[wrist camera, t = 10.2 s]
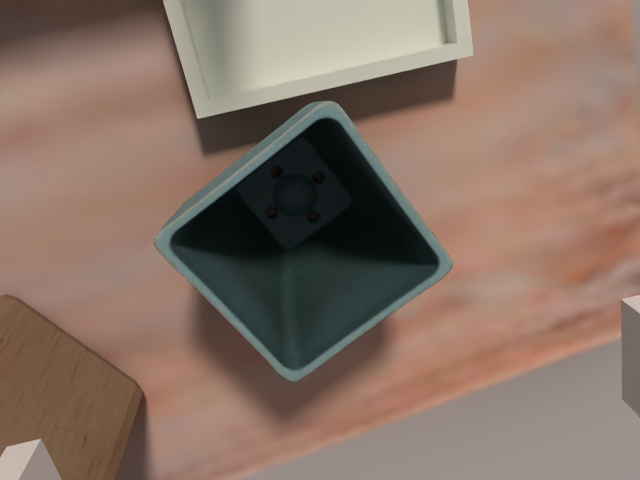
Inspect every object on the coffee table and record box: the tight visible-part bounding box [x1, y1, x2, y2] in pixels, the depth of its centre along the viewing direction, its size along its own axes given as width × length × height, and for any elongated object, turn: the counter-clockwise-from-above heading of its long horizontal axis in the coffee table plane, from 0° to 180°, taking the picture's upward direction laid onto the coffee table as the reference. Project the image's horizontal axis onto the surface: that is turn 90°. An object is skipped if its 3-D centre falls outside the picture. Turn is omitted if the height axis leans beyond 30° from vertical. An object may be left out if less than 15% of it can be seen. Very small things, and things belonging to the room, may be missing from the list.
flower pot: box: [154, 101, 453, 382], centre depth 26 cm, size 9×9×9 cm
